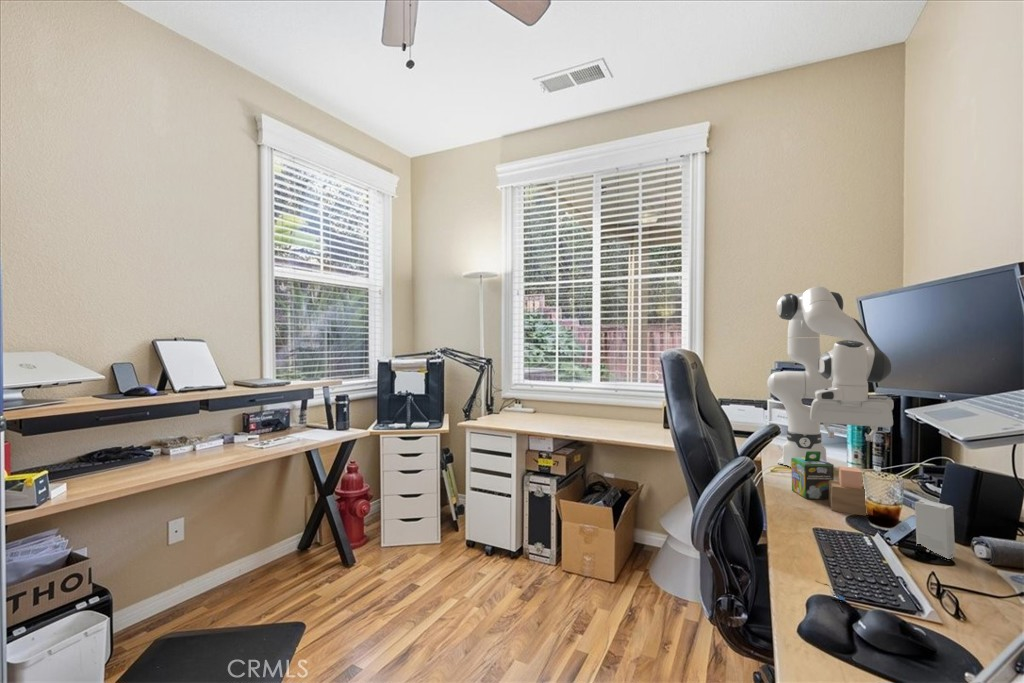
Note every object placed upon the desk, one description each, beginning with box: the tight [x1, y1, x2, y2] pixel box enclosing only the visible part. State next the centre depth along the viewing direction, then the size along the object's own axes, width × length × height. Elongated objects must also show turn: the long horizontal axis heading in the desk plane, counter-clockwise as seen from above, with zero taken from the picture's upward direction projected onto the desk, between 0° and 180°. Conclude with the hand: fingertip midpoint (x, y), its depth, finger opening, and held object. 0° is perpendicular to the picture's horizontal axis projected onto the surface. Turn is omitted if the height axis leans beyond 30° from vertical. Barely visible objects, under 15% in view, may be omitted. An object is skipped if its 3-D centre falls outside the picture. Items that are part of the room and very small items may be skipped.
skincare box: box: [914, 498, 956, 560], centre depth 108 cm, size 6×4×12 cm
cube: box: [838, 465, 863, 489], centre depth 137 cm, size 5×5×5 cm
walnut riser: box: [828, 479, 867, 517], centre depth 137 cm, size 8×10×7 cm
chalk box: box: [790, 451, 835, 500], centre depth 150 cm, size 9×9×15 cm
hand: (849, 439), depth 137 cm, fingers open, 8 cm apart
